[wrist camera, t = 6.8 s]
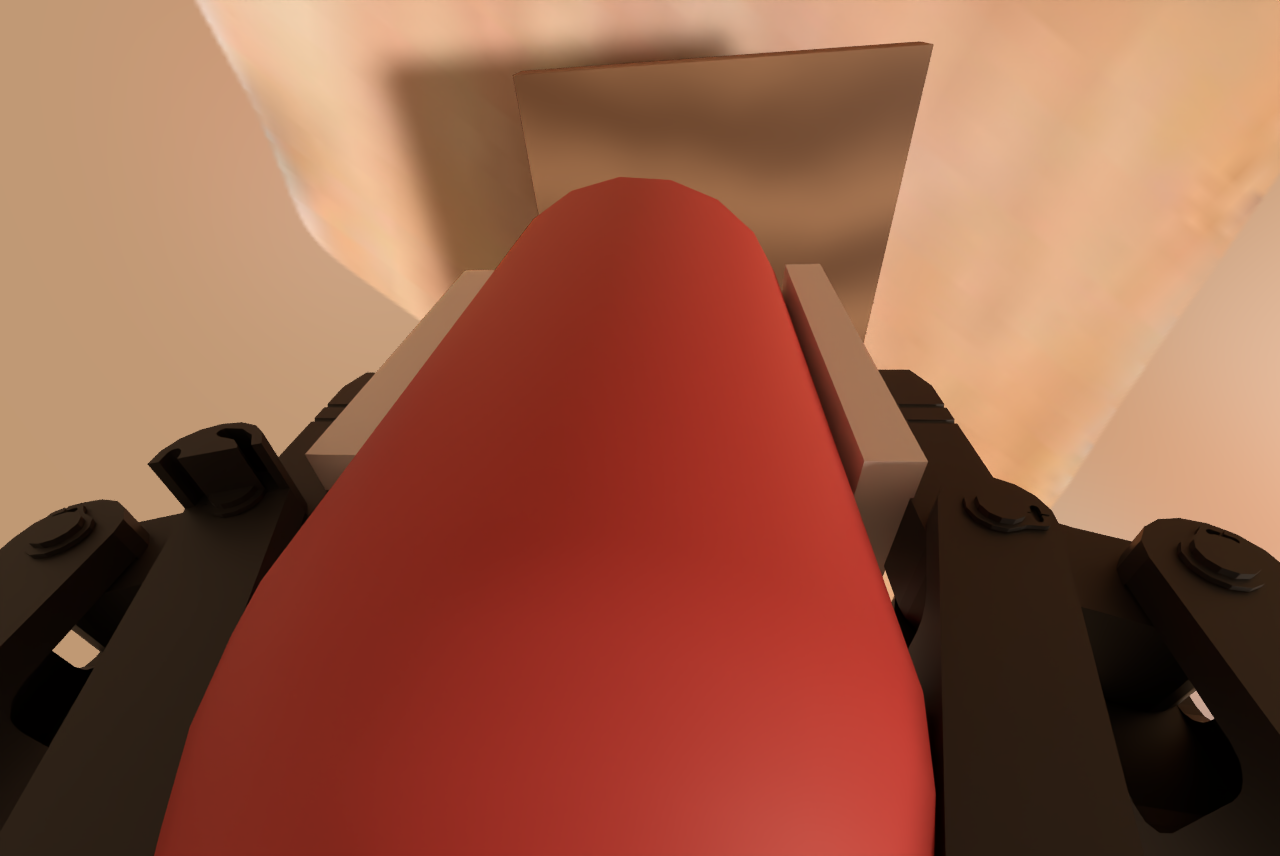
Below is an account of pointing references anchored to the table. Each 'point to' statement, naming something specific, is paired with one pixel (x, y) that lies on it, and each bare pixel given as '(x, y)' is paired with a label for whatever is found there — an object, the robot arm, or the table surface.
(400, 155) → the table surface
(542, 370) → the beer can
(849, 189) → the peg shelf
